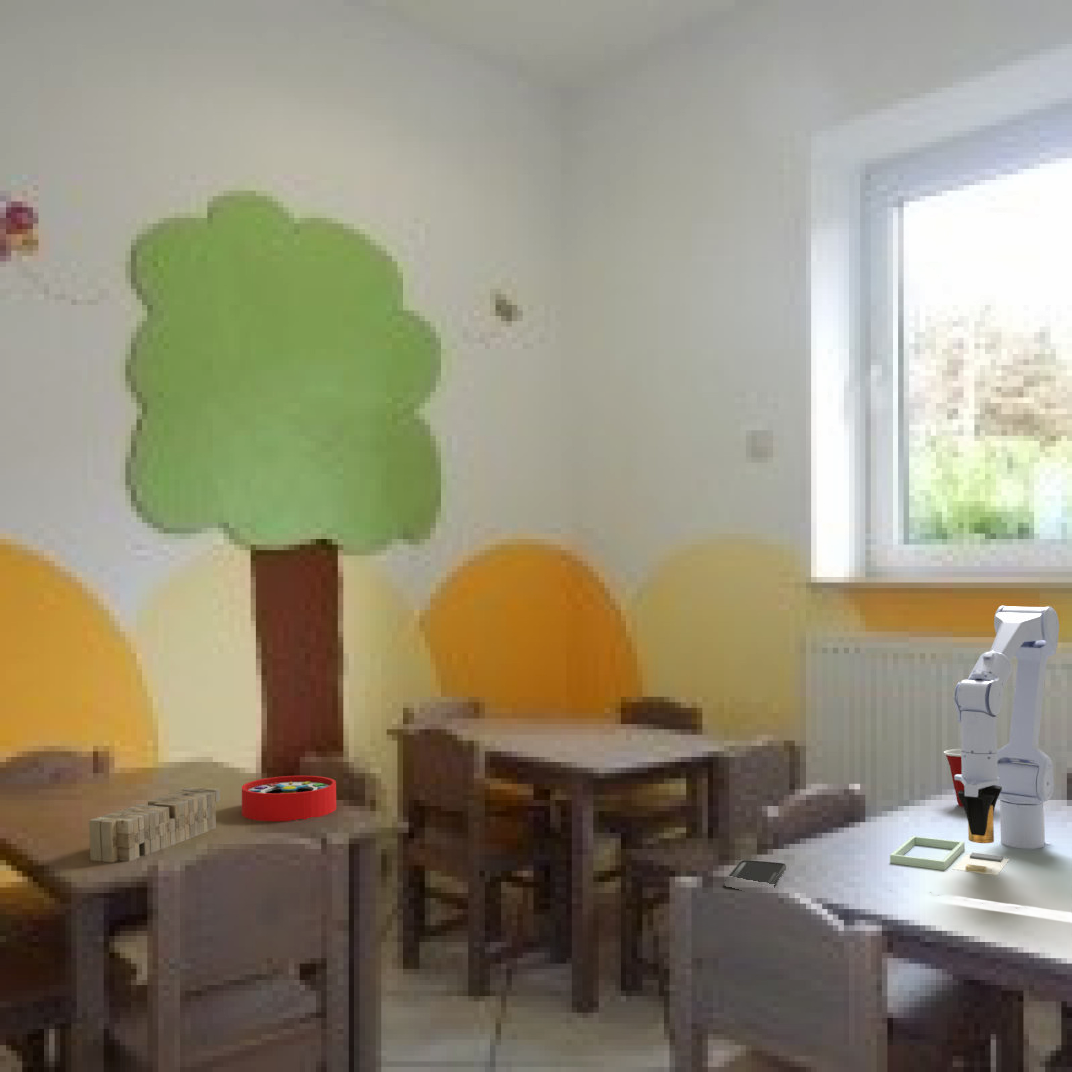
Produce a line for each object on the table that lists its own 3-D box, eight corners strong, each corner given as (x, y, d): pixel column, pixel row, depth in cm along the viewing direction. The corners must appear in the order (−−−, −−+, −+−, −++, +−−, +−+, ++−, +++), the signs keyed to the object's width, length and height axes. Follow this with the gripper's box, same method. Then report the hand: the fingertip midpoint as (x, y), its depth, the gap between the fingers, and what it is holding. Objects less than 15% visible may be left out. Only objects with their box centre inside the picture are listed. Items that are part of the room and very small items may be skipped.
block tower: (123, 869, 204) (222, 827, 231) (122, 823, 204) (221, 786, 231) (88, 865, 207) (190, 824, 234) (87, 819, 206) (189, 783, 234)
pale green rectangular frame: (912, 849, 206) (912, 835, 206) (964, 856, 201) (964, 842, 201) (890, 869, 193) (890, 854, 193) (945, 876, 188) (944, 861, 188)
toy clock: (267, 798, 231) (225, 784, 246) (267, 827, 231) (226, 811, 246) (353, 784, 244) (308, 772, 259) (353, 812, 244) (308, 797, 259)
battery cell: (971, 836, 194) (970, 797, 194) (996, 839, 192) (995, 800, 192) (966, 841, 191) (965, 802, 191) (991, 844, 189) (990, 804, 189)
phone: (722, 882, 184) (742, 859, 198) (722, 889, 184) (742, 865, 198) (771, 887, 181) (787, 863, 195) (771, 894, 181) (787, 870, 195)
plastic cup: (961, 798, 248) (959, 743, 248) (1008, 806, 240) (1007, 749, 240) (934, 805, 241) (933, 749, 241) (982, 814, 233) (981, 755, 233)
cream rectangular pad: (966, 860, 198) (966, 850, 198) (1009, 866, 194) (1009, 855, 194) (952, 876, 188) (952, 865, 188) (997, 882, 185) (997, 871, 185)
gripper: (963, 742, 200) (965, 820, 200) (944, 756, 188) (946, 838, 187) (1006, 746, 196) (1008, 824, 196) (989, 759, 184) (991, 843, 184)
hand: (980, 831), depth 191 cm, fingers closed on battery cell, 4 cm apart
